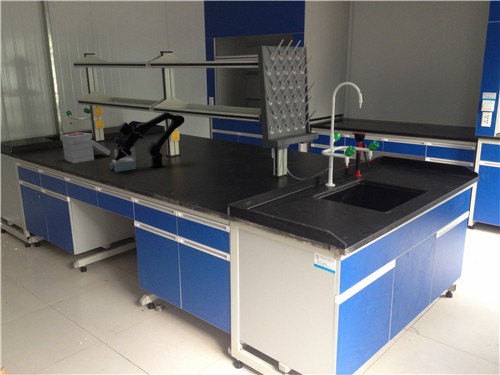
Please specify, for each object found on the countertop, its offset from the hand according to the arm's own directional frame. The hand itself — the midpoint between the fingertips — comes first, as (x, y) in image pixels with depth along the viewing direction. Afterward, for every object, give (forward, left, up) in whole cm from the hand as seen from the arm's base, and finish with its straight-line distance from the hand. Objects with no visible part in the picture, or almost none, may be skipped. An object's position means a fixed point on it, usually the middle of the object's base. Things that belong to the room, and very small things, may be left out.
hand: (115, 160), depth 267 cm
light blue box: (+3, -8, -8) cm, 11 cm away
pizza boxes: (+51, -15, -8) cm, 53 cm away
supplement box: (+16, -23, -8) cm, 29 cm away
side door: (-3, -6, -7) cm, 10 cm away
